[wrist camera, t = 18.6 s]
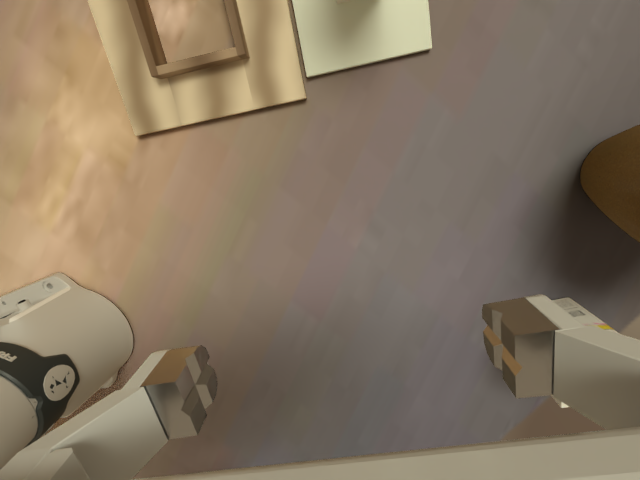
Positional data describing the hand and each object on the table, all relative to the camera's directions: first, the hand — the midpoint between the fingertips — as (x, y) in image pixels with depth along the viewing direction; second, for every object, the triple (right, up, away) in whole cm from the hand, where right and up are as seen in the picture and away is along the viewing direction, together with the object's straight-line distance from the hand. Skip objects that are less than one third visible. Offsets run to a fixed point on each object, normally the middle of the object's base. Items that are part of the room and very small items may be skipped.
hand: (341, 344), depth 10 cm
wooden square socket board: (-14, +26, +25) cm, 39 cm away
